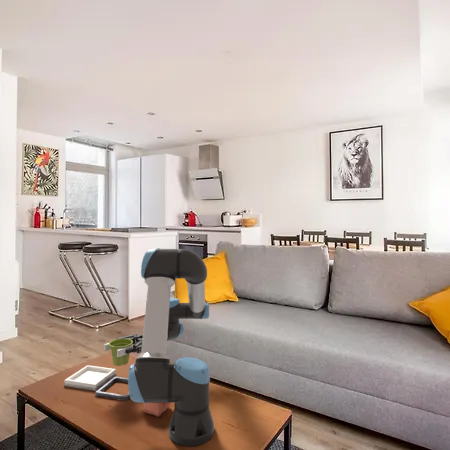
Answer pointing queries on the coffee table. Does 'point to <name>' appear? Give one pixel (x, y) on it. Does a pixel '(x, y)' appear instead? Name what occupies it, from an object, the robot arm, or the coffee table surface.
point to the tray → (90, 377)
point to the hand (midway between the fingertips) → (111, 350)
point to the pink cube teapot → (155, 408)
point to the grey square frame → (112, 395)
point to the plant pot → (116, 346)
